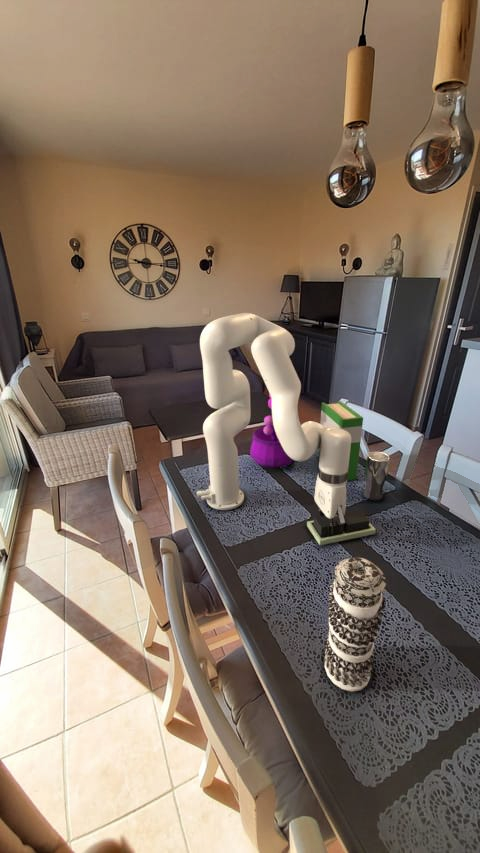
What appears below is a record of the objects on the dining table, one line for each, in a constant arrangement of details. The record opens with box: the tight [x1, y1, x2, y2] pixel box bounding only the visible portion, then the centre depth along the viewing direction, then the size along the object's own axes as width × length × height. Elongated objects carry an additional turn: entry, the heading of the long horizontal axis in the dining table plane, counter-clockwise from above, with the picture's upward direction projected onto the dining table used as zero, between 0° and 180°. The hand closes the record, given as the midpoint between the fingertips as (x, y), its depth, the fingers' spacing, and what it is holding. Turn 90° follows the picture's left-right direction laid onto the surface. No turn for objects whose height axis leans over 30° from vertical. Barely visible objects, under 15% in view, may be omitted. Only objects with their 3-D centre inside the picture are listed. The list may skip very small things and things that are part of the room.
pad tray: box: [306, 520, 377, 546], centre depth 105 cm, size 17×9×2 cm, turn 104°
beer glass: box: [363, 451, 390, 501], centre depth 118 cm, size 7×7×15 cm
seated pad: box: [344, 510, 370, 533], centre depth 105 cm, size 7×5×4 cm
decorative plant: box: [249, 393, 295, 469], centre depth 138 cm, size 19×18×30 cm
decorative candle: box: [324, 556, 387, 692], centre depth 64 cm, size 9×9×25 cm
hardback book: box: [317, 400, 364, 481], centre depth 133 cm, size 18×7×24 cm, turn 11°
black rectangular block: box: [313, 515, 344, 537], centre depth 103 cm, size 7×5×4 cm
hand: (328, 528), depth 104 cm, fingers closed on black rectangular block, 4 cm apart
